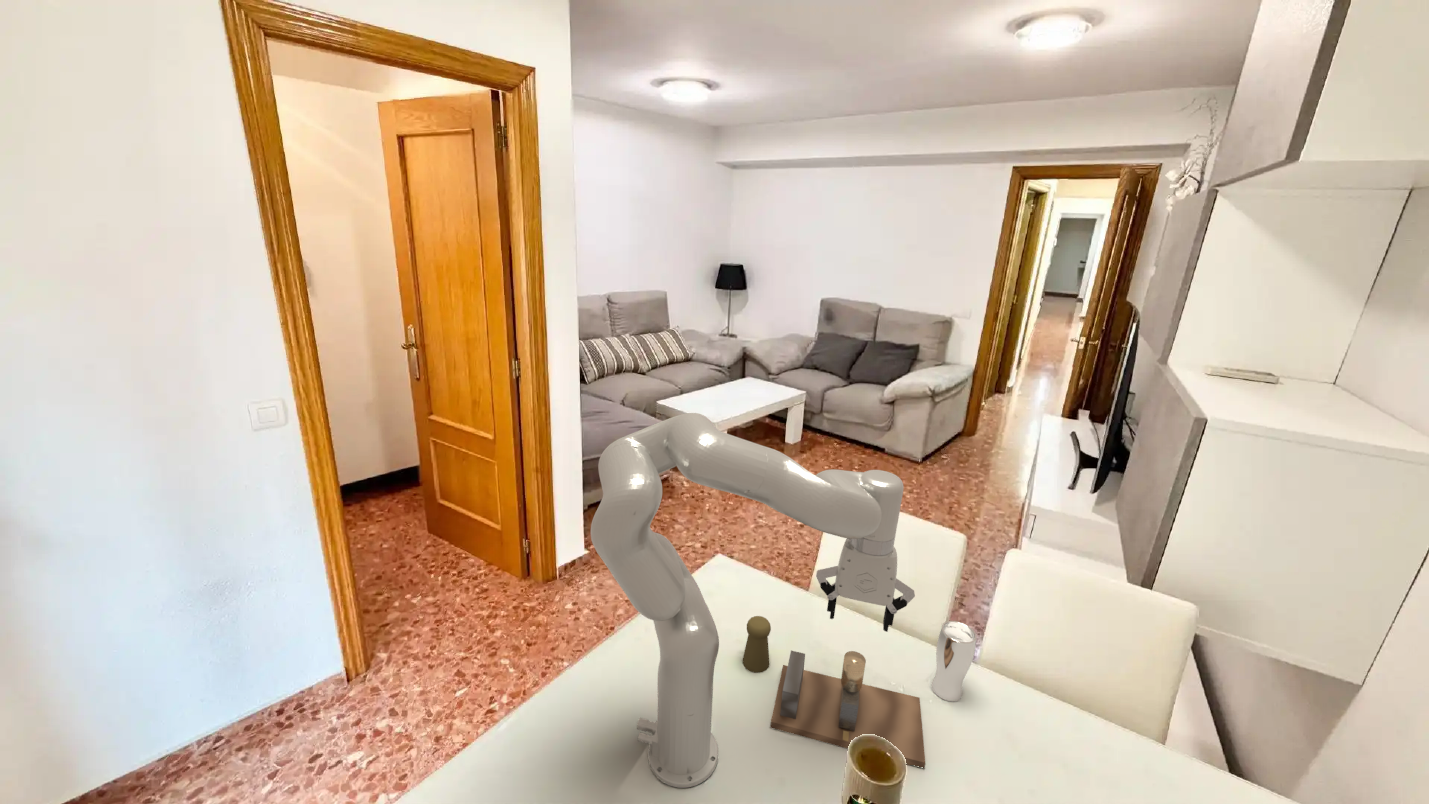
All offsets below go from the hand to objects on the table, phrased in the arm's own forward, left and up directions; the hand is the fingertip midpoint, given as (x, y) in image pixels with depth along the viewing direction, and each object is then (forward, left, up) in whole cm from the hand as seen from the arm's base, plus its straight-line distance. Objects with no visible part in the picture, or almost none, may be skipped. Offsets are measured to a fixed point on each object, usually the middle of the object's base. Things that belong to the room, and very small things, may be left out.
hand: (858, 620), depth 102 cm
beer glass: (+20, +13, -23) cm, 33 cm away
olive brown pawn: (-20, +8, -23) cm, 31 cm away
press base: (0, 0, -23) cm, 23 cm away
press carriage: (0, 0, -21) cm, 21 cm away
